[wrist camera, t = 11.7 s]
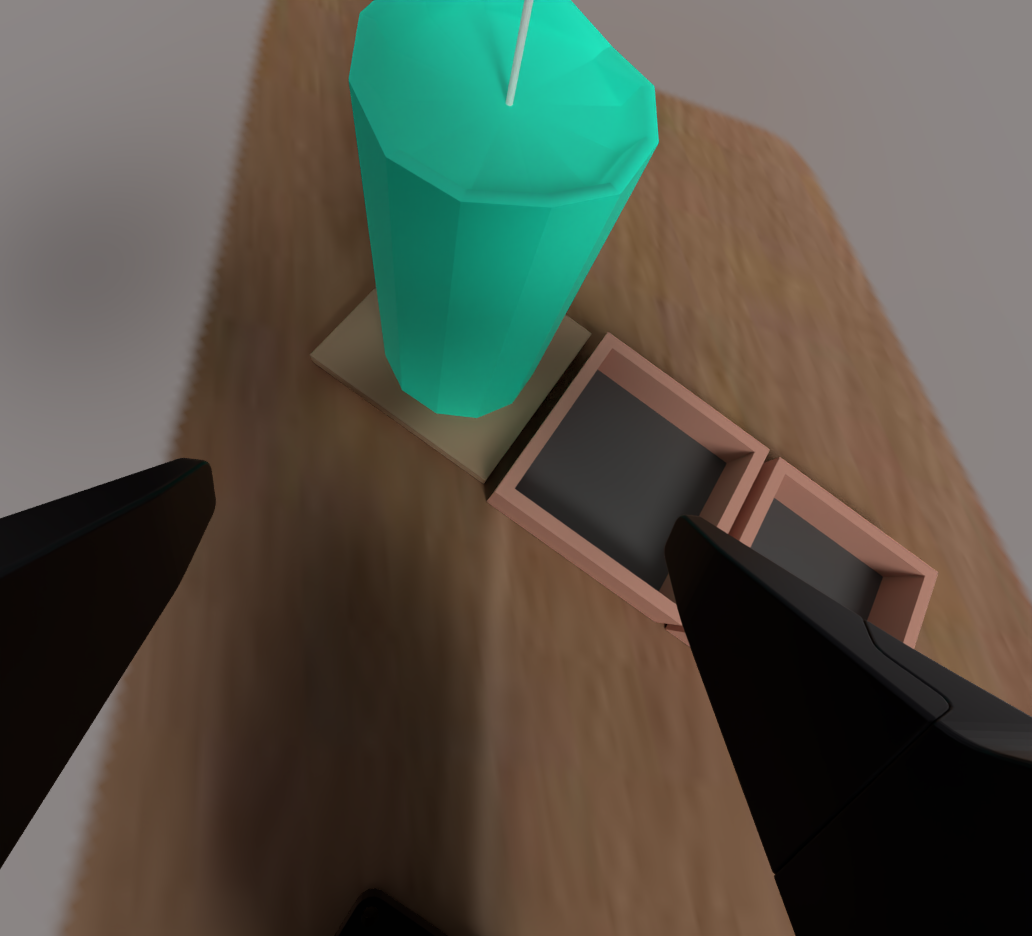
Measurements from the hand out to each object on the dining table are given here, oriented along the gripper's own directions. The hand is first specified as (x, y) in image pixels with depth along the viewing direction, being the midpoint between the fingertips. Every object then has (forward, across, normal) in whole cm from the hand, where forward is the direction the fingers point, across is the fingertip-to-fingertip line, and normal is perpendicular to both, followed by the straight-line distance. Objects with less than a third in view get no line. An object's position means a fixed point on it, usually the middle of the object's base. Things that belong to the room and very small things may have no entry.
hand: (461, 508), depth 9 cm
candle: (+11, 0, 0) cm, 11 cm away
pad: (+12, 0, 0) cm, 12 cm away
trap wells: (+7, -11, +5) cm, 14 cm away
